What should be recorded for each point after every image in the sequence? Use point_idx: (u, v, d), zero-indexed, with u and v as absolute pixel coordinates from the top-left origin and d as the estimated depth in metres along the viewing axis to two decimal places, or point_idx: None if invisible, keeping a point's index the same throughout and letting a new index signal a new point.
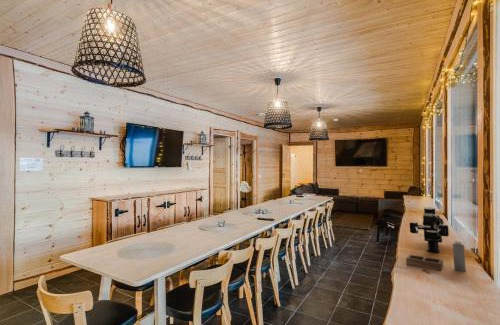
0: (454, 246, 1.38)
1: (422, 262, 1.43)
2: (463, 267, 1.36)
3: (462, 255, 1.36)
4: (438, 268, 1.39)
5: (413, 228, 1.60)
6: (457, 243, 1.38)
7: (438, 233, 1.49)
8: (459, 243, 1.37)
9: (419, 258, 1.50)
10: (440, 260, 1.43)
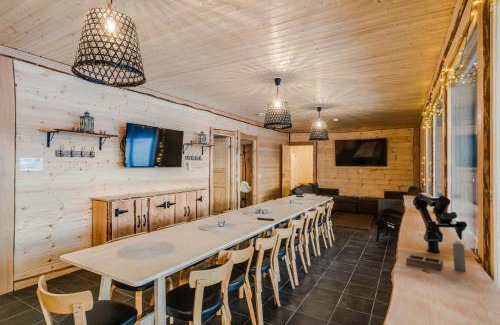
0: (454, 246, 1.38)
1: (422, 262, 1.43)
2: (463, 267, 1.36)
3: (462, 255, 1.36)
4: (438, 268, 1.39)
5: (432, 228, 1.52)
6: (457, 243, 1.38)
7: None
8: (459, 243, 1.37)
9: (419, 258, 1.50)
10: (440, 260, 1.43)
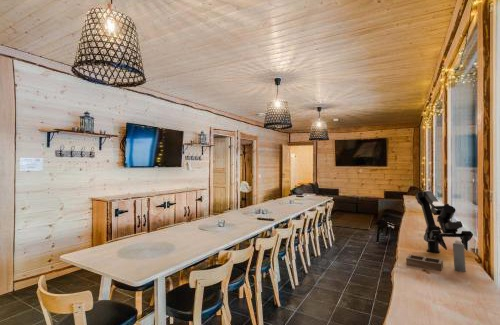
0: (454, 246, 1.38)
1: (422, 262, 1.43)
2: (463, 267, 1.36)
3: (462, 255, 1.36)
4: (438, 268, 1.39)
5: (436, 238, 1.47)
6: (457, 243, 1.38)
7: None
8: (459, 243, 1.37)
9: (419, 258, 1.50)
10: (440, 260, 1.43)
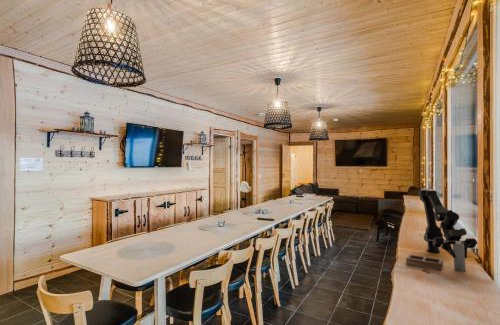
0: (454, 246, 1.38)
1: (422, 262, 1.43)
2: (463, 267, 1.36)
3: (462, 255, 1.36)
4: (438, 268, 1.39)
5: (444, 246, 1.43)
6: (457, 243, 1.38)
7: None
8: (459, 243, 1.37)
9: (419, 258, 1.50)
10: (440, 260, 1.43)
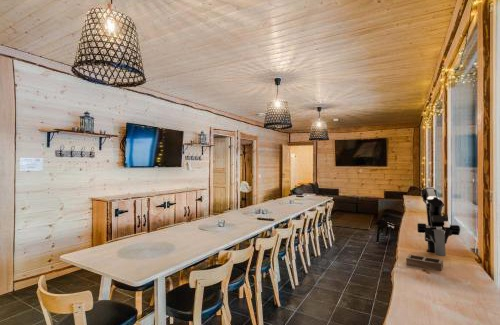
0: (434, 231, 1.43)
1: (422, 262, 1.43)
2: (442, 252, 1.40)
3: (441, 240, 1.40)
4: (438, 268, 1.39)
5: (426, 231, 1.47)
6: (437, 228, 1.42)
7: (446, 240, 1.41)
8: (439, 228, 1.41)
9: (419, 258, 1.50)
10: (440, 260, 1.43)
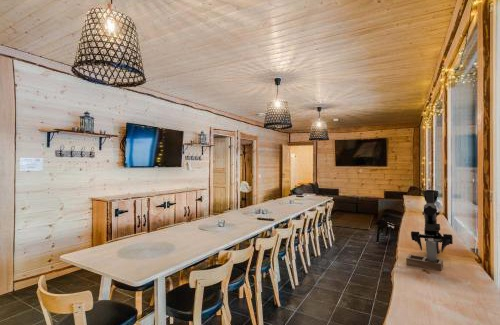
0: (426, 243, 1.45)
1: (422, 262, 1.43)
2: None
3: (432, 252, 1.42)
4: (438, 268, 1.39)
5: (415, 239, 1.51)
6: (429, 240, 1.44)
7: (443, 250, 1.41)
8: (430, 240, 1.43)
9: (419, 258, 1.50)
10: (440, 260, 1.43)
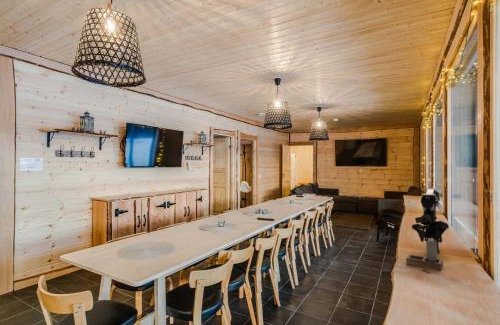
0: (426, 243, 1.45)
1: (422, 262, 1.43)
2: None
3: (432, 252, 1.42)
4: (438, 268, 1.39)
5: None
6: (429, 240, 1.44)
7: (438, 237, 1.48)
8: (431, 240, 1.43)
9: (419, 258, 1.50)
10: (440, 260, 1.43)
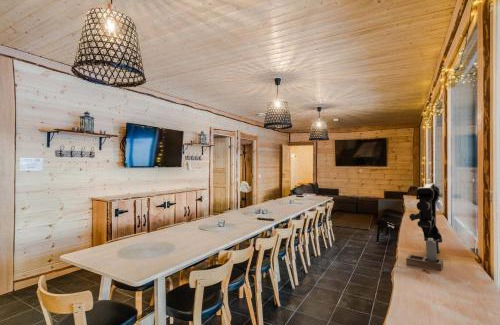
0: (426, 243, 1.45)
1: (422, 262, 1.43)
2: None
3: (432, 252, 1.42)
4: (438, 268, 1.39)
5: None
6: (428, 240, 1.44)
7: (426, 235, 1.53)
8: (430, 240, 1.44)
9: (419, 258, 1.50)
10: (440, 260, 1.43)
